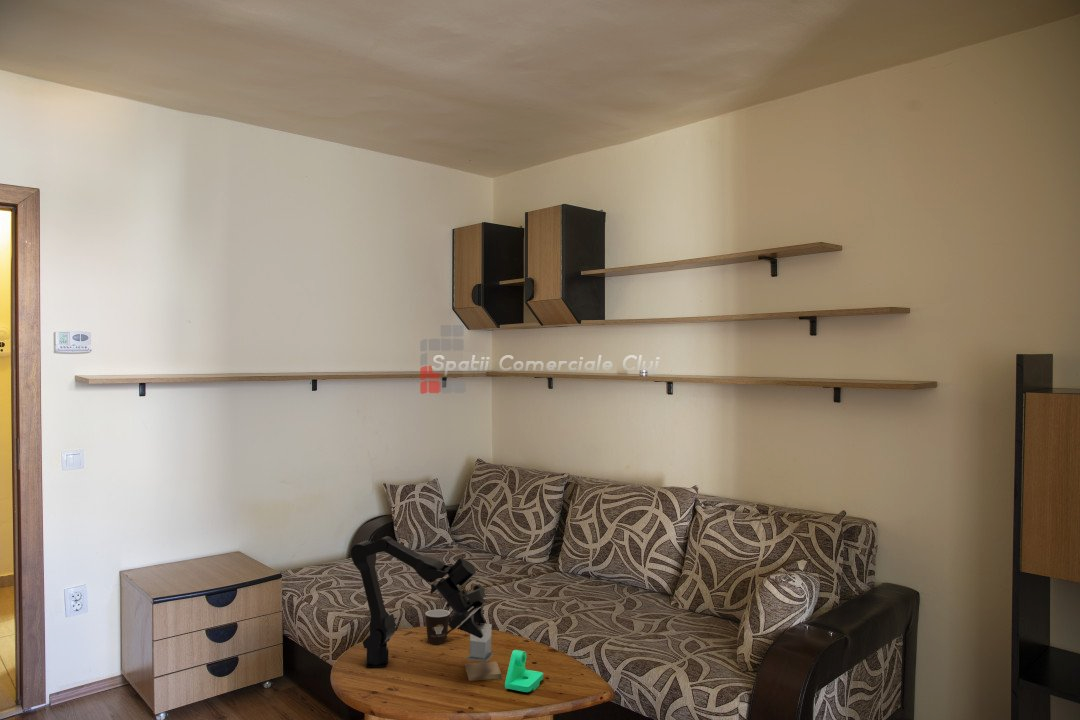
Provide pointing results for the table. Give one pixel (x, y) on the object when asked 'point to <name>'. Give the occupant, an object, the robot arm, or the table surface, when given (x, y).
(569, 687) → the table surface
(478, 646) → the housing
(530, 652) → the table surface
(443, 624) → the coffee mug
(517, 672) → the camera mount
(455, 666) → the table surface
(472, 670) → the stand
